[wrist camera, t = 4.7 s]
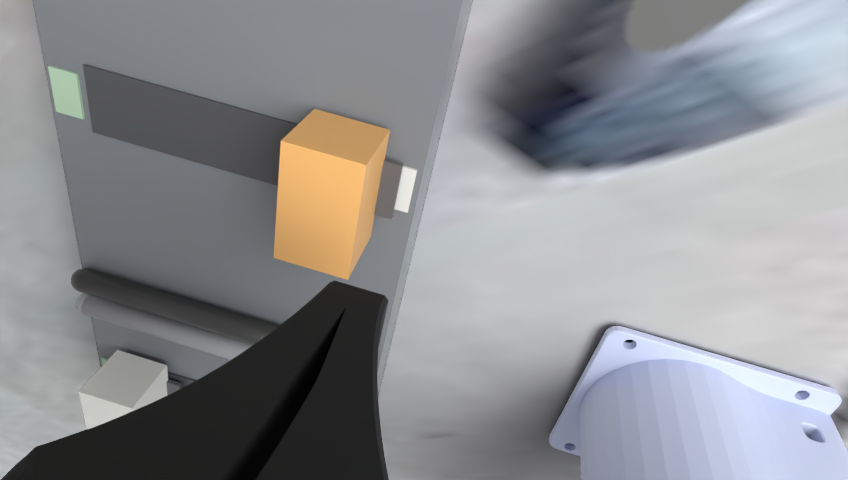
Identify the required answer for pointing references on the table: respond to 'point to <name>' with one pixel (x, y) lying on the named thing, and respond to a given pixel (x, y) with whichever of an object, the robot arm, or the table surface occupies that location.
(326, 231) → the block
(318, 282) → the panel
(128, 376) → the block
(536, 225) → the table surface
